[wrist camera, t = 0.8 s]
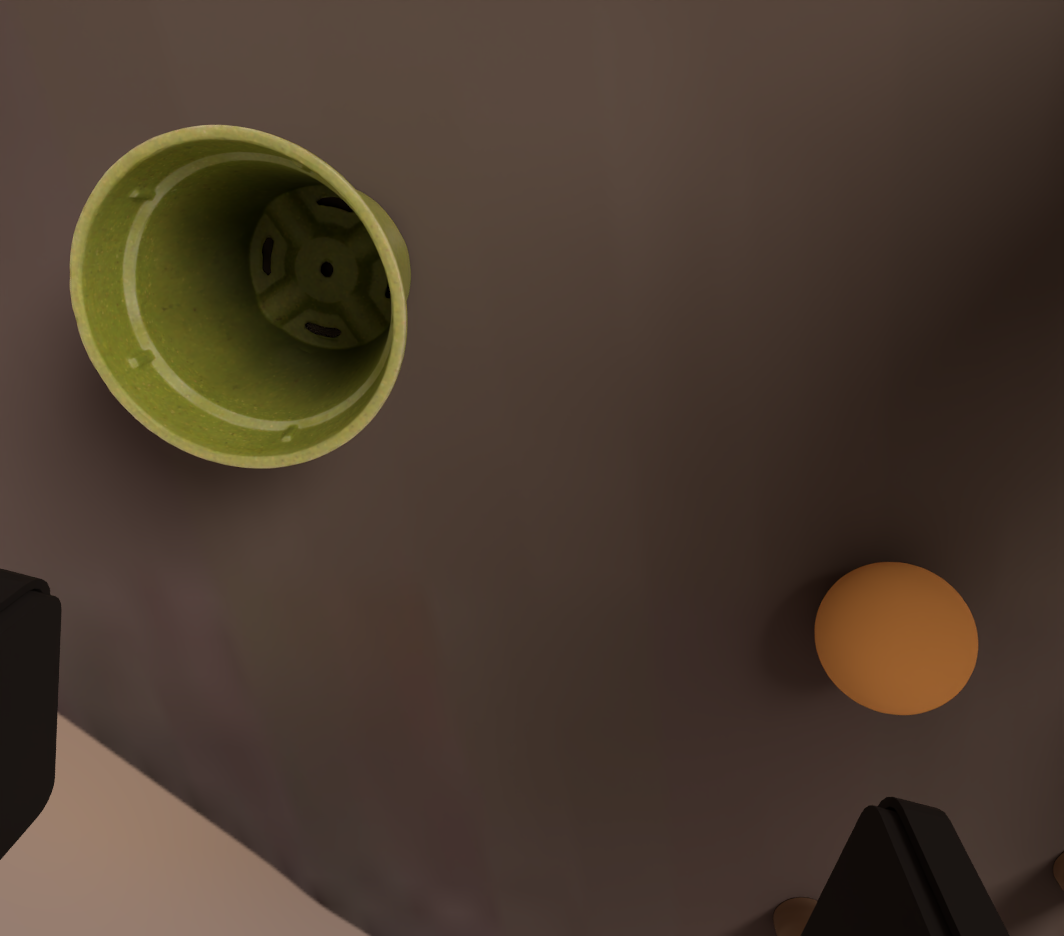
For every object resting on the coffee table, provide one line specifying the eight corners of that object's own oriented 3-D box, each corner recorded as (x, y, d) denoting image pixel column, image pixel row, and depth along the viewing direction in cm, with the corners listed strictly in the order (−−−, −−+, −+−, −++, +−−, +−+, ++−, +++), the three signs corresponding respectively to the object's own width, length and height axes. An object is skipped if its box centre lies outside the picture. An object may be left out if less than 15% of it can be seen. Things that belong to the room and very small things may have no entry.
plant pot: (441, 412, 32) (388, 495, 24) (204, 371, 33) (73, 440, 25) (472, 158, 29) (423, 157, 21) (208, 114, 29) (59, 96, 21)
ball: (929, 521, 32) (993, 590, 27) (953, 641, 34) (1017, 728, 29) (785, 558, 33) (820, 631, 28) (816, 673, 35) (854, 762, 30)
